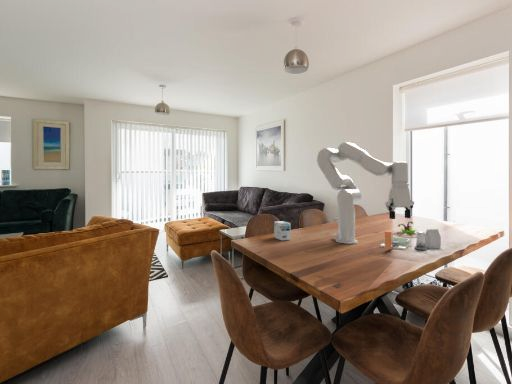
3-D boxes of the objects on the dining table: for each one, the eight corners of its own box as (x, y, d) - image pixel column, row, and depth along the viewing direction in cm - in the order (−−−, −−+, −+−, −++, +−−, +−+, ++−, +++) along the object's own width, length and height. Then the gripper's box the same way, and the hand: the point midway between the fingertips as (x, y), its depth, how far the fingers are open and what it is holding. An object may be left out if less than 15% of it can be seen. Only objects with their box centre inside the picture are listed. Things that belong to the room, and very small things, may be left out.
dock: (380, 246, 145) (380, 240, 145) (387, 242, 157) (387, 236, 157) (404, 250, 138) (404, 243, 137) (410, 245, 149) (410, 239, 149)
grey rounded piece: (413, 249, 140) (413, 232, 139) (415, 247, 144) (415, 231, 144) (425, 250, 136) (426, 233, 136) (427, 249, 140) (428, 232, 140)
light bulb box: (290, 240, 164) (291, 222, 163) (281, 240, 161) (281, 223, 161) (282, 236, 174) (283, 220, 173) (273, 237, 171) (273, 221, 171)
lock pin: (384, 248, 136) (384, 231, 135) (391, 244, 146) (391, 228, 146) (390, 249, 134) (391, 232, 133) (397, 245, 144) (397, 228, 144)
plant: (433, 241, 160) (433, 223, 160) (400, 241, 161) (400, 223, 161) (415, 235, 180) (415, 219, 180) (386, 235, 181) (386, 219, 181)
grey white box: (440, 248, 143) (440, 229, 142) (429, 248, 141) (430, 230, 141) (434, 246, 146) (435, 228, 146) (424, 246, 145) (424, 228, 145)
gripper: (407, 185, 142) (407, 217, 142) (380, 185, 137) (380, 218, 138) (419, 185, 135) (419, 218, 135) (391, 185, 130) (391, 219, 130)
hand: (400, 218), depth 136 cm, fingers open, 9 cm apart
